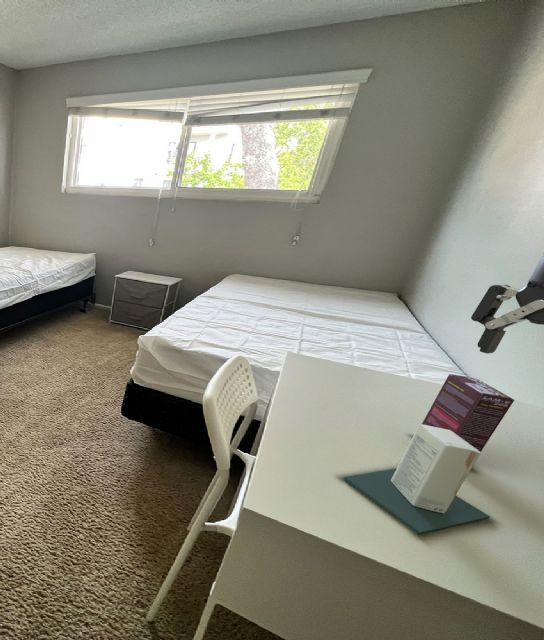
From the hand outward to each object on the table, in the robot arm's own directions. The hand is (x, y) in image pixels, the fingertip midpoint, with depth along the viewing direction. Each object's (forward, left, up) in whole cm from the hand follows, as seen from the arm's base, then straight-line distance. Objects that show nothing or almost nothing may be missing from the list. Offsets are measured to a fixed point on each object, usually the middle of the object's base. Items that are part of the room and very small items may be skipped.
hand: (527, 364), depth 51 cm
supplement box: (-16, -9, -26) cm, 32 cm away
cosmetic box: (+5, -1, -26) cm, 26 cm away
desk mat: (+6, -1, -26) cm, 27 cm away
